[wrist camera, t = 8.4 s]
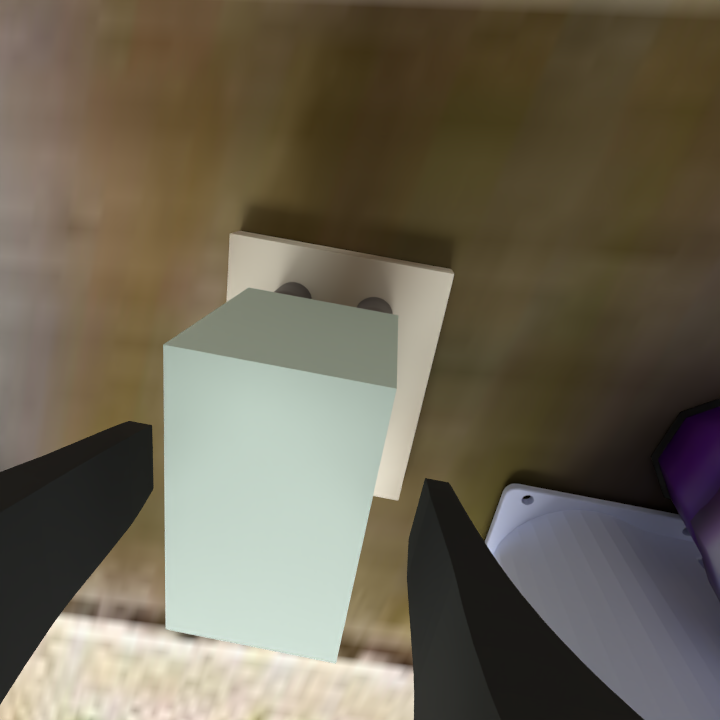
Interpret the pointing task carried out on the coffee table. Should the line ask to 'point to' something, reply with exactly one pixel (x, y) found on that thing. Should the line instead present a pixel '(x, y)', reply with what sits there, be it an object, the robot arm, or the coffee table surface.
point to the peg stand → (367, 291)
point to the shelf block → (273, 467)
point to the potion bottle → (695, 479)
